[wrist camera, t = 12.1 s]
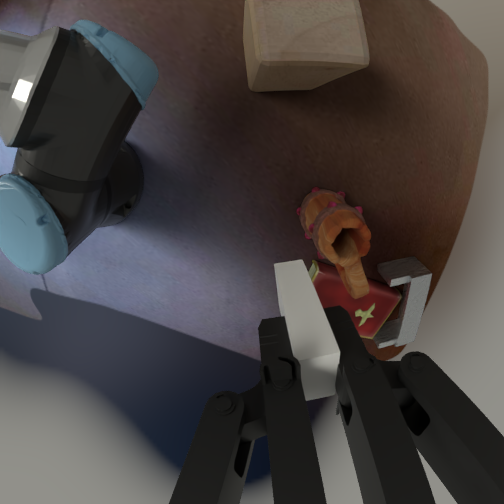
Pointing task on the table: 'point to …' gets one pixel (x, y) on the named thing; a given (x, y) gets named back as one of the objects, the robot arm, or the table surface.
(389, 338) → the end cap
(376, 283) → the hardcover book
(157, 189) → the table surface
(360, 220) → the mug
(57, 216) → the robot arm
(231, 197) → the table surface
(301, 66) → the wooden block
